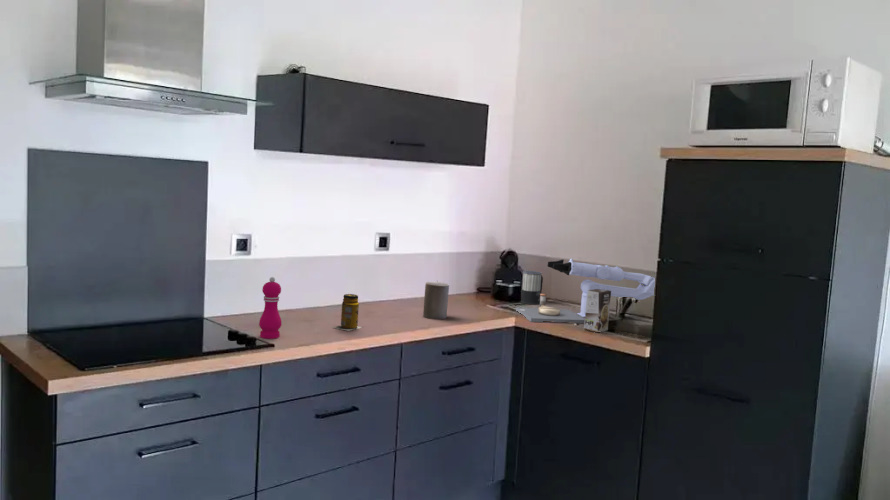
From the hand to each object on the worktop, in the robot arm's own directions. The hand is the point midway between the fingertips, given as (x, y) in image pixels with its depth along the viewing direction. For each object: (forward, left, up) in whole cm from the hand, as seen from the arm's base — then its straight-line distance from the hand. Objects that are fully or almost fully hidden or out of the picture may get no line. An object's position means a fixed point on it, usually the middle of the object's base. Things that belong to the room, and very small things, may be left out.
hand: (550, 265), depth 313 cm
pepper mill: (+113, +57, -22) cm, 128 cm away
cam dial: (+1, +3, -20) cm, 20 cm away
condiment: (+87, +39, -22) cm, 98 cm away
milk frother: (+1, -33, -22) cm, 40 cm away
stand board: (0, +5, -22) cm, 22 cm away
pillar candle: (+51, +13, -22) cm, 57 cm away
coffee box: (-11, +30, -22) cm, 39 cm away
